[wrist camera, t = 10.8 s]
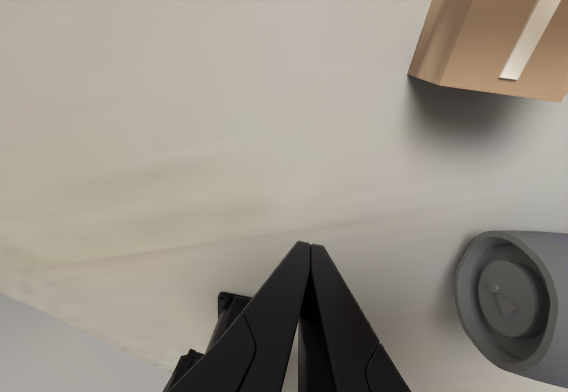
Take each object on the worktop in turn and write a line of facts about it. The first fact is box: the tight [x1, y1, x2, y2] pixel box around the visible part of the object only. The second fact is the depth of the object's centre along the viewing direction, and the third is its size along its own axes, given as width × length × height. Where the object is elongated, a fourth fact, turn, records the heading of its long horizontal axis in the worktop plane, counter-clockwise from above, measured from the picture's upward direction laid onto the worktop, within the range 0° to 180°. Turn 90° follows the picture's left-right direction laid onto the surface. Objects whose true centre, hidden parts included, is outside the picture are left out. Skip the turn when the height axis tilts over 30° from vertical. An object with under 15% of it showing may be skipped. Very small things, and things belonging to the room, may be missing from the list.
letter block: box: [408, 0, 568, 102], centre depth 12 cm, size 5×5×5 cm
